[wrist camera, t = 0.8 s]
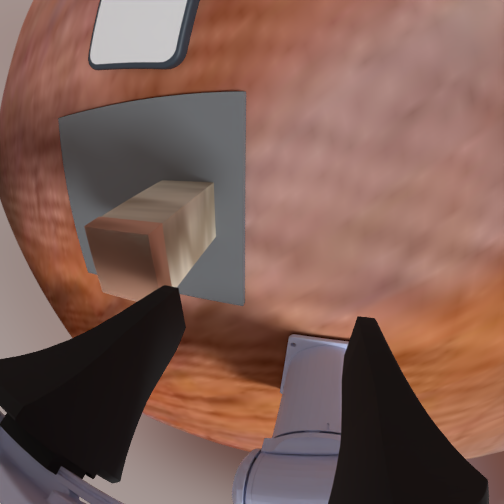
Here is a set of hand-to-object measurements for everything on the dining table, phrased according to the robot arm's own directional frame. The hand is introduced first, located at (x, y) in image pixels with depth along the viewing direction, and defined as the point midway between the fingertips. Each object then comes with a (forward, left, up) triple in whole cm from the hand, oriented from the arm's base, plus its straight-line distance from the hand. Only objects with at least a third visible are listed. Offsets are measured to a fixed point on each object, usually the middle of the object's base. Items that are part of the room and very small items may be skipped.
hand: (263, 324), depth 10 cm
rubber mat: (0, +12, -10) cm, 16 cm away
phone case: (+18, +10, -11) cm, 24 cm away
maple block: (0, +7, -10) cm, 12 cm away
